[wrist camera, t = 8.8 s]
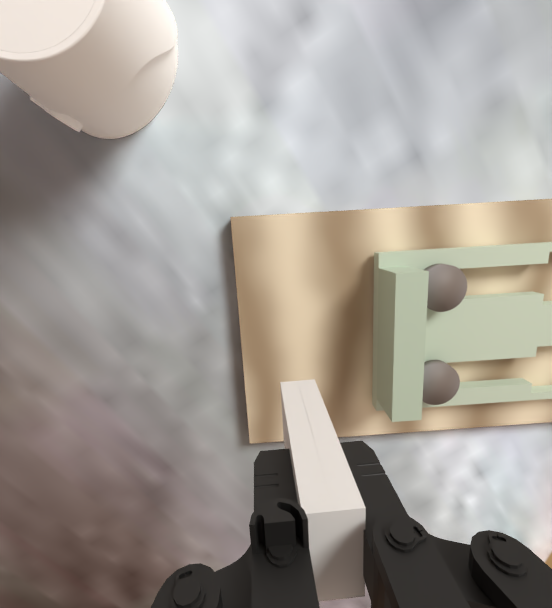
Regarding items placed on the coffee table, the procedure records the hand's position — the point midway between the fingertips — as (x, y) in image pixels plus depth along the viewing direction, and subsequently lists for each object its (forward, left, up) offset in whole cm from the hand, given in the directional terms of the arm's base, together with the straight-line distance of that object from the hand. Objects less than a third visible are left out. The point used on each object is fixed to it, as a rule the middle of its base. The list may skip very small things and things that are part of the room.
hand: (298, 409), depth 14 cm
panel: (+15, 0, -10) cm, 18 cm away
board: (+11, 0, -12) cm, 16 cm away
